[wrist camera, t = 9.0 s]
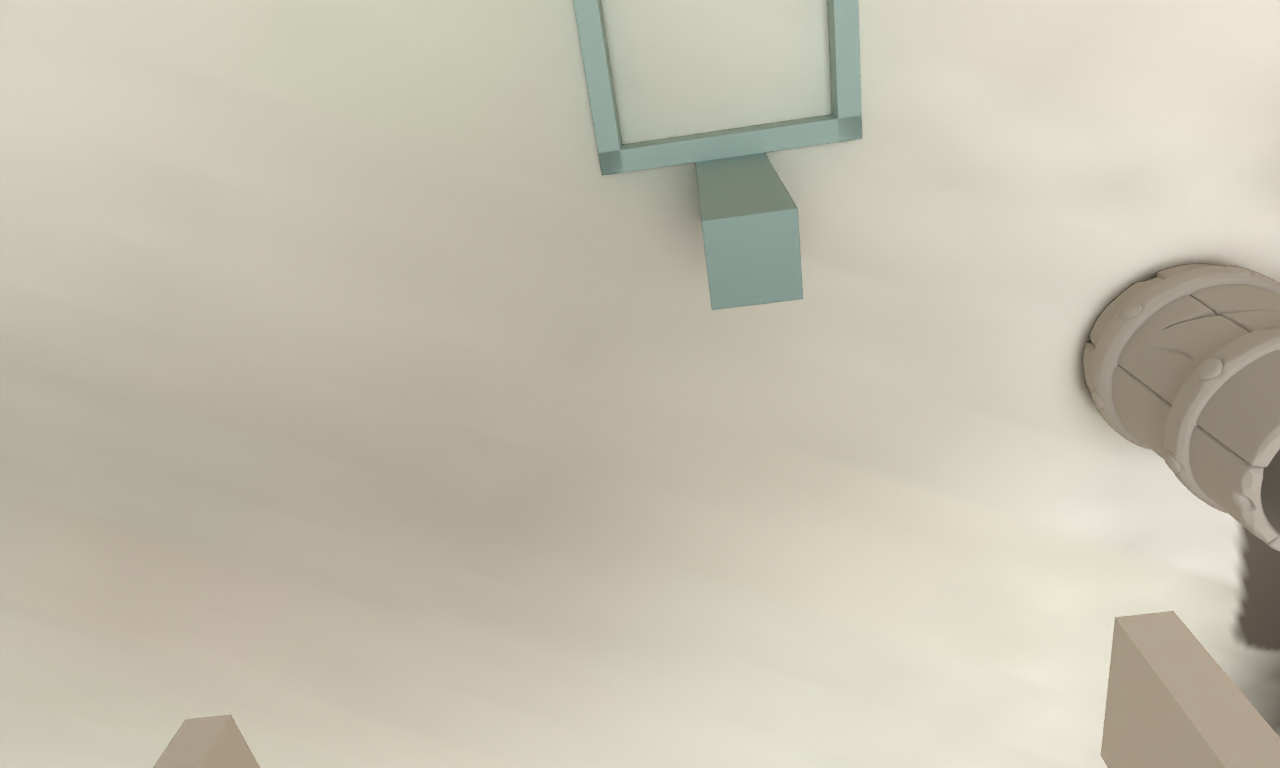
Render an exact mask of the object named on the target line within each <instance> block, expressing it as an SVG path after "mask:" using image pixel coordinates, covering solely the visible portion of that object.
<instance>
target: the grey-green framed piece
mask: <svg viewBox="0 0 1280 768" xmlns="http://www.w3.org/2000/svg"><path fill="white" fill-rule="evenodd" d="M573 2H574V8H575V14H576V20H577V26H578V32H579V38H580V44H581V50H582V57H583V63H584V69H585V75H586V81H587V87H588V93H589V99H590V105H591V112H592V118H593V124H594V130H595V136H596V142H597V148H598V154H599V160H600V166H601V173H602V175H609V174H616V173H623V172H630V171H637V170H644V169H651V168H658V167H665V166H672V165H679V164H686V163H694V162H695V163H696V173H697V182H698V192H699V201H700V210H701V220H702V229H703V238H704V246H705V255H706V264H707V273H708V281H709V290H710V299H711V308H712V310H717V309H725V308H733V307H742V306H750V305H758V304H766V303H774V302H783V301H791V300H799V299H803V288H802V272H801V256H800V240H799V224H798V208H797V207H796V205H795V203H794V202H793V200H792V198H791V196H790V195H789V193H788V191H787V190H786V188H785V186H784V185H783V183H782V181H781V180H780V178H779V176H778V174H777V173H776V171H775V169H774V168H773V166H772V164H771V163H770V161H769V159H768V158H767V156H766V154H765V152H771V151H779V150H786V149H793V148H800V147H807V146H814V145H821V144H828V143H835V142H842V141H849V140H856V139H862V121H861V83H860V46H859V8H858V0H828V22H829V47H830V71H831V95H832V115H826V116H819V117H812V118H805V119H798V120H791V121H784V122H777V123H770V124H764V125H757V126H750V127H743V128H736V129H729V130H722V131H715V132H708V133H701V134H694V135H688V136H681V137H674V138H667V139H660V140H653V141H646V142H639V143H632V144H625V145H622V140H621V134H620V127H619V121H618V114H617V107H616V101H615V94H614V87H613V81H612V74H611V67H610V61H609V54H608V48H607V41H606V34H605V28H604V21H603V14H602V8H601V1H600V0H573Z"/></svg>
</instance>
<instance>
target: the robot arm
mask: <svg viewBox="0 0 1280 768" xmlns="http://www.w3.org/2000/svg"><path fill="white" fill-rule="evenodd" d="M1101 757H1102V758H1103V760H1104V762H1105V763H1106V765H1107V767H1108V768H1280V738H1279V737H1278V735H1277V734H1276V733H1275V732H1274V731H1273V729H1272V728H1271V727H1270V726H1269V725H1268V723H1267V722H1266V721H1265V720H1264V719H1263V717H1262V716H1261V715H1260V714H1259V713H1258V711H1257V710H1256V709H1255V708H1254V707H1253V705H1252V704H1251V703H1250V702H1249V701H1248V700H1247V698H1246V697H1245V696H1244V695H1243V694H1242V692H1241V691H1240V690H1239V689H1238V688H1237V686H1236V685H1235V684H1234V683H1233V682H1232V680H1231V679H1230V678H1229V677H1228V676H1227V674H1226V673H1225V672H1224V671H1223V670H1222V669H1221V667H1220V666H1219V665H1218V664H1217V663H1216V661H1215V660H1214V659H1213V658H1212V657H1211V655H1210V654H1209V653H1208V652H1207V651H1206V649H1205V648H1204V647H1203V646H1202V645H1201V643H1200V642H1199V641H1198V640H1197V639H1196V638H1195V636H1194V635H1193V634H1192V633H1191V632H1190V630H1189V629H1188V628H1187V627H1186V626H1185V624H1184V623H1183V622H1182V621H1181V620H1180V618H1179V617H1178V616H1177V615H1176V614H1175V612H1174V611H1169V612H1160V613H1151V614H1142V615H1133V616H1124V617H1115V624H1114V633H1113V643H1112V652H1111V662H1110V671H1109V681H1108V691H1107V700H1106V710H1105V719H1104V729H1103V739H1102V748H1101ZM153 768H260V767H259V765H258V763H257V761H256V760H255V758H254V756H253V754H252V752H251V750H250V749H249V747H248V745H247V743H246V741H245V740H244V738H243V736H242V734H241V732H240V730H239V729H238V727H237V725H236V723H235V721H234V719H233V718H232V716H231V715H224V716H215V717H206V718H197V719H188V720H185V721H184V722H183V724H182V725H181V727H180V728H179V730H178V731H177V733H176V734H175V736H174V737H173V739H172V740H171V742H170V743H169V745H168V746H167V748H166V749H165V751H164V752H163V754H162V755H161V757H160V758H159V759H158V761H157V762H156V764H155V765H154V767H153Z"/></svg>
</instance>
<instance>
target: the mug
mask: <svg viewBox="0 0 1280 768" xmlns="http://www.w3.org/2000/svg"><path fill="white" fill-rule="evenodd" d="M1090 339H1091V341H1092V343H1086V346H1085V349H1084V354H1083V367H1084V374H1085V380H1086V384H1087V386H1088V389H1089V391H1090V392H1091V395H1092V398H1093V401H1094V404H1095V406H1096V408H1097V409H1098V411H1099V413H1100V414H1101V416H1102V417H1103V419H1104V420H1105V421H1106V422H1107V423H1108V424H1109V425H1110V426H1111V427H1112V428H1113V429H1114V430H1115V431H1116V432H1118V433H1119V434H1120V435H1121V436H1123V437H1124V438H1126V439H1127V440H1129V441H1130V442H1132V443H1134V444H1136V445H1138V446H1141V447H1144V448H1147V449H1152V450H1153V451H1155V452H1156V453H1157V454H1158V455H1159V456H1160V457H1162V458H1163V459H1164V460H1165V462H1166V464H1167V465H1168V467H1169V468H1170V469H1171V470H1172V471H1173V472H1174V474H1175V475H1176V477H1177V478H1178V479H1179V480H1180V481H1181V483H1182V484H1183V485H1184V486H1185V487H1186V488H1187V489H1188V490H1189V491H1191V492H1192V493H1193V494H1194V495H1195V496H1197V497H1198V498H1199V499H1201V500H1202V501H1204V502H1205V503H1207V504H1208V505H1210V506H1211V507H1213V508H1216V509H1218V510H1220V511H1223V512H1225V513H1229V514H1230V515H1231V516H1232V517H1233V518H1235V519H1236V520H1237V521H1238V522H1239V523H1241V524H1242V525H1243V526H1244V527H1245V528H1247V529H1248V530H1249V531H1250V532H1251V533H1253V534H1254V535H1255V536H1256V537H1258V538H1260V539H1261V540H1263V541H1264V542H1265V543H1266V544H1267V545H1269V546H1270V547H1272V548H1273V549H1275V550H1277V551H1280V284H1279V283H1278V282H1276V281H1274V280H1272V279H1270V278H1268V277H1266V276H1264V275H1262V274H1260V273H1257V272H1254V271H1251V270H1248V269H1244V268H1241V267H1236V266H1215V265H1209V264H1187V265H1181V266H1177V267H1171V268H1167V269H1164V270H1162V271H1159V272H1157V278H1154V279H1151V280H1147V281H1144V282H1143V281H1141V282H1137V283H1134V284H1133V285H1132V286H1130V287H1129V288H1128V289H1126V290H1125V291H1124V292H1123V293H1122V294H1121V295H1119V296H1118V297H1117V298H1116V299H1115V300H1114V301H1112V302H1111V303H1110V304H1109V305H1108V306H1107V307H1106V308H1105V310H1104V311H1103V312H1102V313H1101V315H1100V316H1099V317H1098V319H1097V321H1096V322H1095V324H1094V326H1093V329H1092V330H1091V333H1090Z"/></svg>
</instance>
